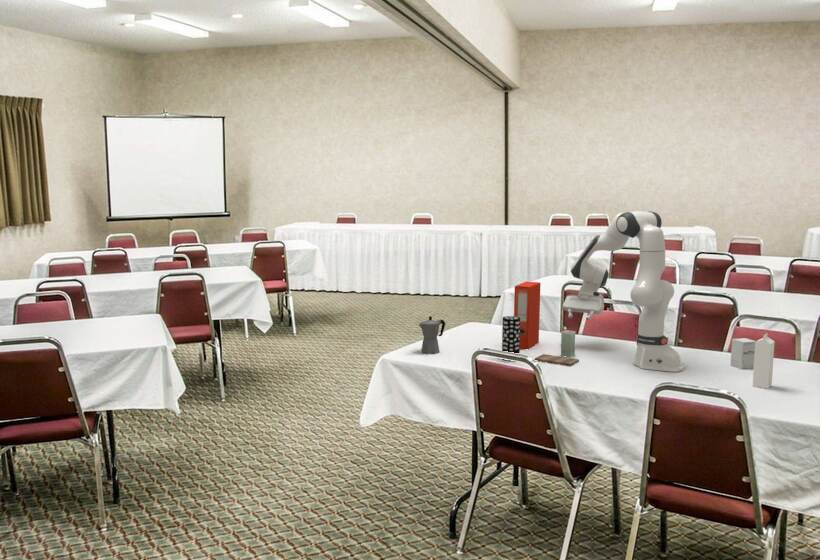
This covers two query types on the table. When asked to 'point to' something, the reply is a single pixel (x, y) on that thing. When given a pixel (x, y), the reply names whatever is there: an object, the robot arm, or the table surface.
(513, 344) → the spotted tube
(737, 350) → the supplement box
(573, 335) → the tea tin
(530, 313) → the file binder
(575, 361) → the board
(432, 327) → the coffeepot
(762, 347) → the milk
